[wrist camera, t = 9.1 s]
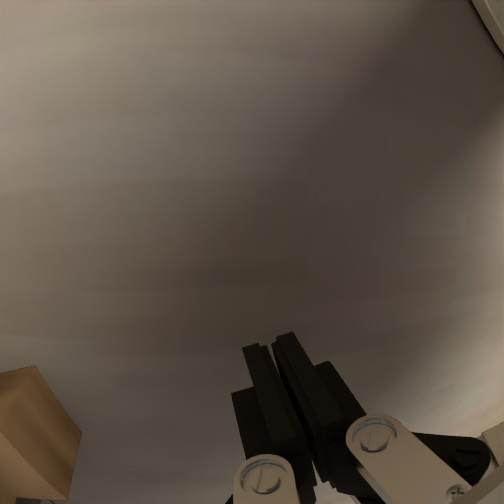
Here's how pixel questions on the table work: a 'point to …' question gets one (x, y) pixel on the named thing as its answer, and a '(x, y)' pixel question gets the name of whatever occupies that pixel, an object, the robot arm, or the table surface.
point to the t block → (34, 439)
